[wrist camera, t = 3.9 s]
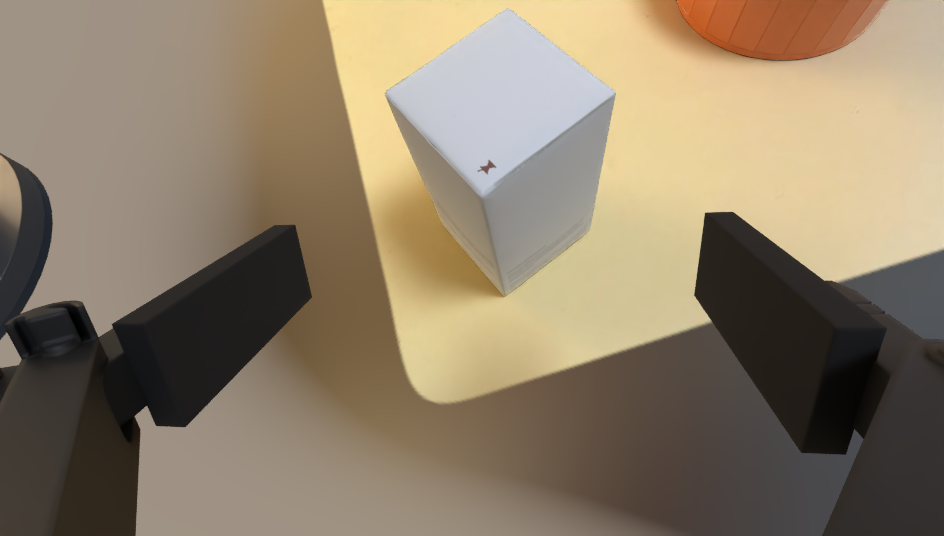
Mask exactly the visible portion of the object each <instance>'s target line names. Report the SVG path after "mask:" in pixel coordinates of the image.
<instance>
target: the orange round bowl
mask: <svg viewBox="0 0 944 536" xmlns="http://www.w3.org/2000/svg"><path fill="white" fill-rule="evenodd" d="M889 2H890V0H677V4H678V7H679V9H680V11H681V13H682V15H683V17H684V18H685V20H686V21H687V22H688V24H689V25H690V26H691V27H692V28H693V29H694V30H695V31H696V32H698V33H699V34H700V35H701V36H702V37H704V38H705V39H707V40H709V41H710V42H712V43H713V44H715V45H717V46H719V47H722V48H724V49H726V50H729V51H731V52H734V53H737V54H741V55H745V56H749V57H754V58H760V59H769V60H796V59H804V58H810V57H815V56H819V55H823V54H826V53H829V52H832V51H835V50H837V49H839V48H841V47H843V46H845V45H847V44H849V43H850V42H852V41H853V40H855V39H856V38H858V37H859V36H860V35H861V34H862V33H863V32H865V31H866V29H867V28H868V27H869V26H870V25H871V24H872V22H873V21H874V20H875V19H876V18H877V17H878V16H879V15H880V13H881V12H882V11H883V10H884V8H885V7H886V6H887V4H888V3H889Z"/></svg>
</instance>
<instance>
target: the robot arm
mask: <svg viewBox="0 0 944 536" xmlns="http://www.w3.org/2000/svg"><path fill="white" fill-rule="evenodd" d="M694 296H695V297H696V298H697V300H698V301H699V303H700V304H701V306H702V307H703V309H704V310H705V312H706V313H707V315H708V316H709V318H710V319H711V321H712V322H713V323H714V325H715V326H716V328H717V329H718V330H719V332H720V334H721V335H722V337H723V338H724V340H725V341H726V343H727V344H728V346H729V347H730V348H731V350H732V351H733V353H734V354H735V356H736V357H737V359H738V360H739V362H740V363H741V365H742V366H743V367H744V369H745V370H746V372H747V373H748V375H749V376H750V378H751V379H752V381H753V382H754V384H755V385H756V387H757V388H758V390H759V391H760V393H761V394H762V395H763V397H764V398H765V400H766V401H767V403H768V404H769V406H770V407H771V409H772V410H773V412H774V413H775V415H776V416H777V418H778V419H779V421H780V422H781V424H782V425H783V426H784V428H785V429H786V431H787V432H788V434H789V435H790V437H791V438H792V440H793V441H794V443H795V444H796V446H797V447H798V449H799V450H800V451H801V453H821V454H822V453H823V454H846V452H847V449H848V446H849V443H850V440H851V437H852V434H853V431H854V429H855V430H856V431H857V432H858V433H859V434H860V435H861V437H862V438H863V439H864V440H863V442H862V445H861V447H860V449H859V452H858V454H857V456H856V459H855V461H854V463H853V466H852V468H851V470H850V472H849V475H848V477H847V479H846V482H845V484H844V486H843V489H842V491H841V493H840V496H839V498H838V500H837V503H836V505H835V507H834V510H833V512H832V514H831V517H830V519H829V521H828V524H827V526H826V528H825V531H824V533H823V535H822V536H944V340H939V339H923V338H921V337H920V336H918V335H917V334H915V333H914V332H913V331H911V330H910V329H908V328H907V327H906V326H904V325H903V324H901V323H900V322H899V321H897V320H896V319H894V318H893V317H892V316H890V315H889V314H885V311H883V310H882V309H880V308H879V307H878V306H876V305H875V304H871V301H869V300H868V299H866V298H865V297H863V296H862V295H861V294H859V293H858V292H857V291H855V290H853V289H850V288H848V287H845V286H843V285H841V284H838V283H836V282H833V281H824V280H823V279H821V278H820V277H819V276H817V275H816V274H815V273H813V272H812V271H811V270H809V269H808V268H807V267H805V266H804V265H803V264H801V263H800V262H799V261H797V260H796V259H795V258H793V257H792V256H791V255H789V254H788V253H787V252H785V251H784V250H783V249H781V248H780V247H779V246H777V245H776V244H775V243H773V242H772V241H771V240H769V239H768V238H767V237H765V236H764V235H763V234H761V233H760V232H759V231H757V230H756V229H755V228H753V227H752V226H751V225H750V224H748V223H747V222H746V221H744V220H743V219H742V218H740V217H739V216H738V215H736V214H735V213H734V212H714V213H705V219H704V226H703V234H702V241H701V249H700V257H699V264H698V272H697V279H696V287H695V294H694ZM310 298H312V295H311V291H310V287H309V282H308V278H307V274H306V269H305V265H304V261H303V257H302V252H301V248H300V244H299V239H298V236H297V232H296V226H295V225H275V226H273V227H271V228H269V229H268V230H266V231H264V232H263V233H261V234H259V235H258V236H256V237H254V238H253V239H251V240H250V241H248V242H246V243H245V244H243V245H241V246H240V247H238V248H236V249H235V250H233V251H232V252H230V253H228V254H227V255H225V256H223V257H222V258H220V259H218V260H217V261H215V262H214V263H212V264H210V265H208V266H207V267H205V268H204V269H202V270H200V271H199V272H197V273H195V274H194V275H192V276H190V277H189V278H187V279H185V280H184V281H182V282H180V283H179V284H177V285H176V286H174V287H172V288H171V289H169V290H167V291H166V292H164V293H162V294H161V295H159V296H158V297H156V298H154V299H152V300H151V301H149V302H148V303H146V304H144V305H143V306H141V307H139V308H138V309H136V310H135V311H133V312H131V313H129V314H128V315H126V316H125V317H123V318H121V319H120V320H118V321H116V322H115V323H113V324H112V326H113V329H111V330H110V331H108V332H106V333H105V334H103V335H102V336H100V337H98V335H97V333H96V331H95V329H94V326H93V324H92V322H91V320H90V318H89V316H88V313H87V311H86V309H85V307H84V304H83V303H82V302H80V301H63V302H58V303H53V304H48V305H45V306H41V307H38V308H35V309H32V310H30V311H27V312H25V313H22V314H20V315H18V316H16V317H14V318H12V319H10V320H9V321H8V322H7V323H6V324H4V327H5V329H6V331H7V333H8V335H9V336H10V338H11V340H12V342H13V344H14V346H15V348H16V349H17V351H18V353H19V355H20V357H21V359H22V360H21V362H20V364H19V365H17V366H11V367H5V368H0V536H135V533H136V512H137V511H136V510H137V491H138V469H139V468H138V467H139V448H140V447H139V446H140V428H139V426H138V423H137V421H136V419H135V417H134V416H135V415H136V414H137V413H138V412H140V411H141V410H142V409H143V408H144V407H145V406H148V408H149V411H150V413H151V415H152V418H153V420H154V422H155V424H156V426H170V427H186V426H187V425H188V424H189V423H190V422H191V421H192V420H193V419H194V418H195V417H196V416H197V415H198V414H199V412H200V411H201V410H202V409H203V408H204V407H205V406H206V405H207V404H208V403H209V402H210V401H211V400H212V399H213V398H214V397H215V396H216V395H217V394H218V393H219V392H220V391H221V390H222V389H223V388H224V387H225V386H226V385H227V384H228V383H229V382H230V381H231V380H232V379H233V378H234V377H235V376H236V375H237V374H238V372H239V371H240V370H241V369H242V368H243V367H244V366H245V365H246V364H247V363H248V362H249V361H250V360H251V359H252V358H253V357H254V356H255V355H256V354H257V353H258V352H259V351H260V350H261V349H262V348H263V347H264V346H265V345H266V344H267V343H268V342H269V340H271V339H272V337H274V336H275V335H276V333H277V332H278V331H279V330H280V329H281V328H282V327H283V326H284V325H285V324H286V323H287V322H288V321H289V320H290V319H291V318H292V317H293V316H294V315H295V314H296V313H297V312H298V311H299V310H300V309H301V308H302V307H303V305H305V304H306V303H307V302H308V301H309V300H310Z"/></svg>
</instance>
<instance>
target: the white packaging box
mask: <svg viewBox="0 0 944 536" xmlns="http://www.w3.org/2000/svg"><path fill="white" fill-rule="evenodd" d="M385 95H386V98H387V100H388V103H389V105H390V108H391V110H392V113H393V115H394V117H395V120H396V122H397V124H398V127H399V129H400V131H401V133H402V136H403V138H404V140H405V142H406V144H407V147H408V149H409V151H410V153H411V155H412V158H413V160H414V162H415V164H416V166H417V169H418V171H419V173H420V175H421V177H422V180H423V182H424V184H425V186H426V188H427V191H428V193H429V195H430V197H431V199H432V202H433V204H434V206H435V209H436V211H437V213H438V216H439V218H440V220H441V223H442V224H443V225H444V227H445V228H446V229H447V230H448V232H449V233H450V234H451V235H452V237H453V238H454V239H455V240H456V241H457V243H458V244H459V245H460V246H461V247H462V248H463V250H464V251H465V252H466V253H467V254H468V255H469V257H470V258H471V259H472V260H473V261H474V262H475V264H476V265H477V266H478V267H479V268H480V269H481V270H482V272H483V273H484V274H485V275H486V276H487V277H488V279H489V280H490V281H491V282H492V283H493V284H494V286H495V287H496V288H497V289H498V290H499V291H500V292H501V294H502V295H503V296H507V295H508V294H509V293H511V292H512V291H513V290H515V289H516V288H517V287H518V286H520V285H521V284H522V283H524V282H525V281H526V280H527V279H529V278H530V277H531V276H532V275H534V274H535V273H537V272H538V271H539V270H540V269H542V268H543V267H544V266H545V265H547V264H548V263H549V262H551V261H552V260H553V259H554V258H556V257H557V256H558V255H560V254H561V253H562V252H563V251H565V250H566V249H567V248H569V247H570V246H571V245H572V244H573V243H575V242H576V241H578V240H579V239H580V238H581V237H582V236H584V235H585V234H586V233H588V232H589V230H590V226H591V220H592V215H593V210H594V205H595V199H596V194H597V189H598V184H599V178H600V173H601V168H602V163H603V157H604V152H605V147H606V142H607V136H608V131H609V126H610V120H611V115H612V110H613V105H614V100H615V95H616V93H615V91H614V90H613V89H611V88H610V87H609V86H607V85H606V84H605V83H603V82H602V81H601V80H600V79H598V78H597V77H596V76H594V75H593V74H592V73H591V72H589V71H588V70H587V69H585V68H584V67H583V66H581V65H580V64H579V63H578V62H576V61H575V60H574V59H573V58H571V57H570V56H569V55H568V54H566V53H565V52H564V51H563V50H561V49H560V48H559V47H557V46H556V45H555V44H554V43H552V42H551V41H550V40H549V39H547V38H546V37H545V36H543V35H542V34H541V33H540V32H538V31H537V30H536V29H535V28H533V27H532V26H531V25H530V24H528V23H527V22H526V21H525V20H523V19H522V18H521V17H519V16H518V15H517V14H516V13H514V12H513V11H512V10H511V9H509V8H507V9H505V10H504V11H502V12H501V13H499V14H498V15H496V16H495V17H493V18H492V19H490V20H489V21H487V22H486V23H485V24H483V25H482V26H480V27H479V28H477V29H476V30H475V31H473V32H472V33H470V34H469V35H467V36H466V37H464V38H463V39H461V40H460V41H459V42H457V43H456V44H454V45H453V46H451V47H450V48H448V49H447V50H446V51H444V52H443V53H441V54H440V55H439V56H437V57H436V58H434V59H433V60H432V61H430V62H429V63H427V64H426V65H425V66H423V67H422V68H420V69H419V70H417V71H415V72H414V73H412V74H411V75H409V76H408V77H406V78H405V79H403V80H402V81H400V82H399V83H397V84H396V85H394V86H393V87H391V88H390V89H388V90H387V91H386V92H385Z"/></svg>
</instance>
